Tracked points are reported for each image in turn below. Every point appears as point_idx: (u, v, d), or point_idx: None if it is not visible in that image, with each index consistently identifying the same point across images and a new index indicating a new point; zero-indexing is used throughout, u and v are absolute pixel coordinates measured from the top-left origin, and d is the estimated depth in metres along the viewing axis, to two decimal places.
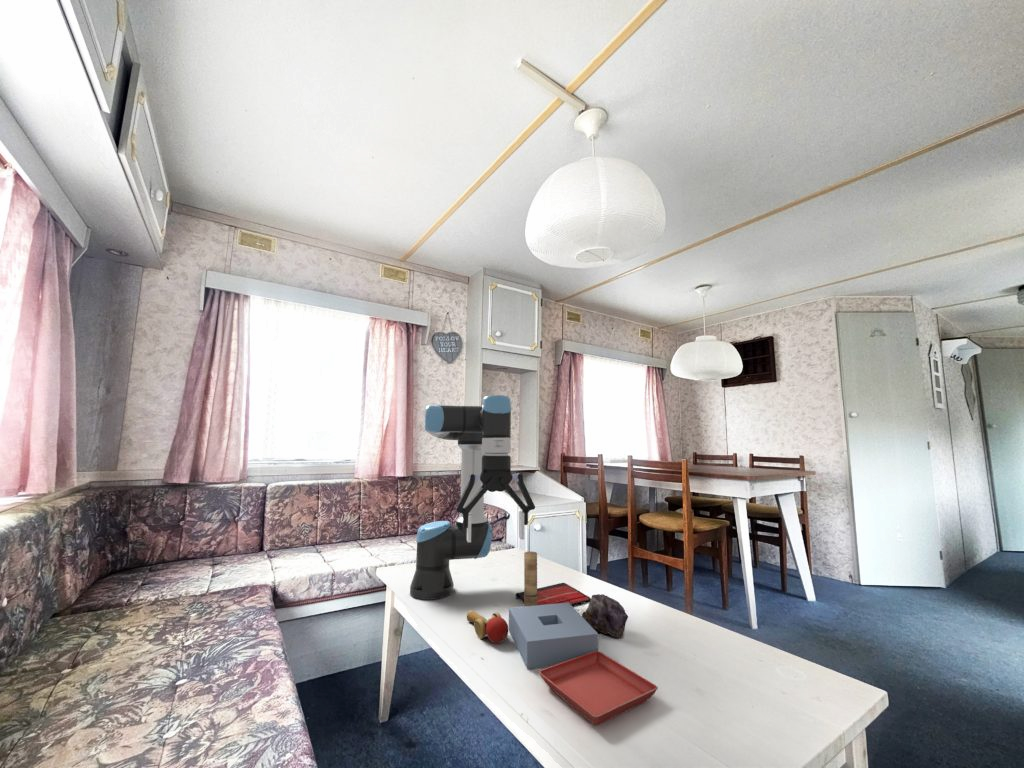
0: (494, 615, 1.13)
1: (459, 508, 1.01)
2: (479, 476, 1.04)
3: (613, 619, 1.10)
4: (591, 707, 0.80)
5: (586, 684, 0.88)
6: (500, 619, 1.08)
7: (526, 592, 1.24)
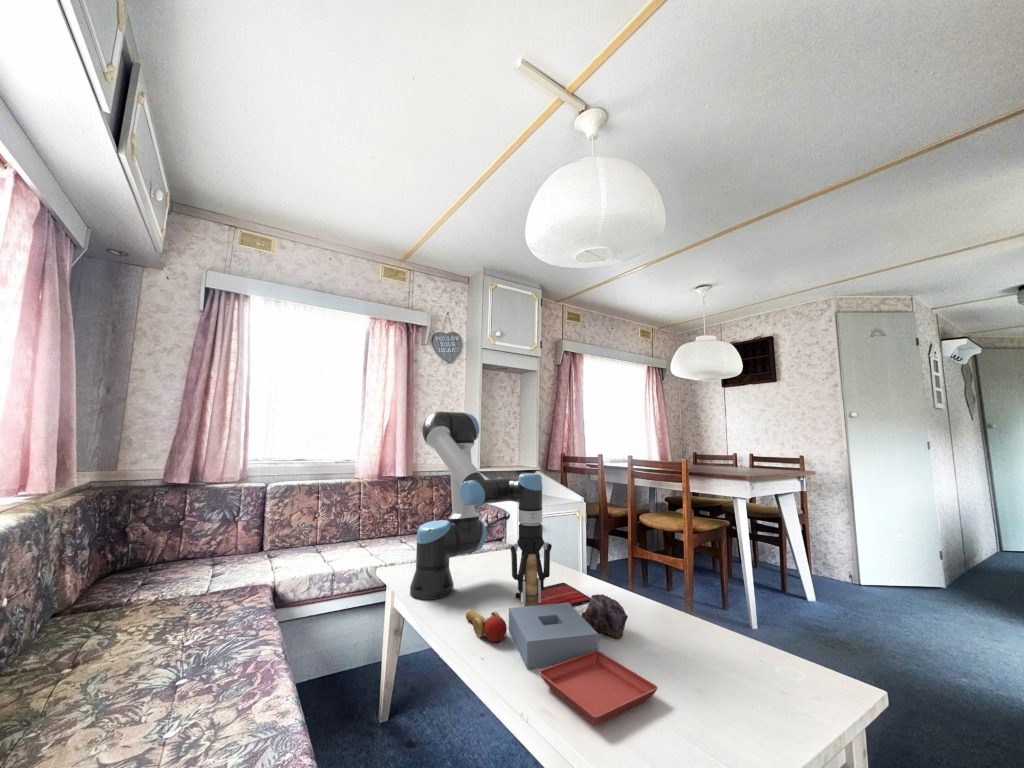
0: (493, 614, 1.14)
1: (515, 576, 1.24)
2: (517, 544, 1.26)
3: (613, 619, 1.10)
4: (591, 707, 0.80)
5: (586, 684, 0.88)
6: (498, 618, 1.09)
7: (526, 592, 1.24)
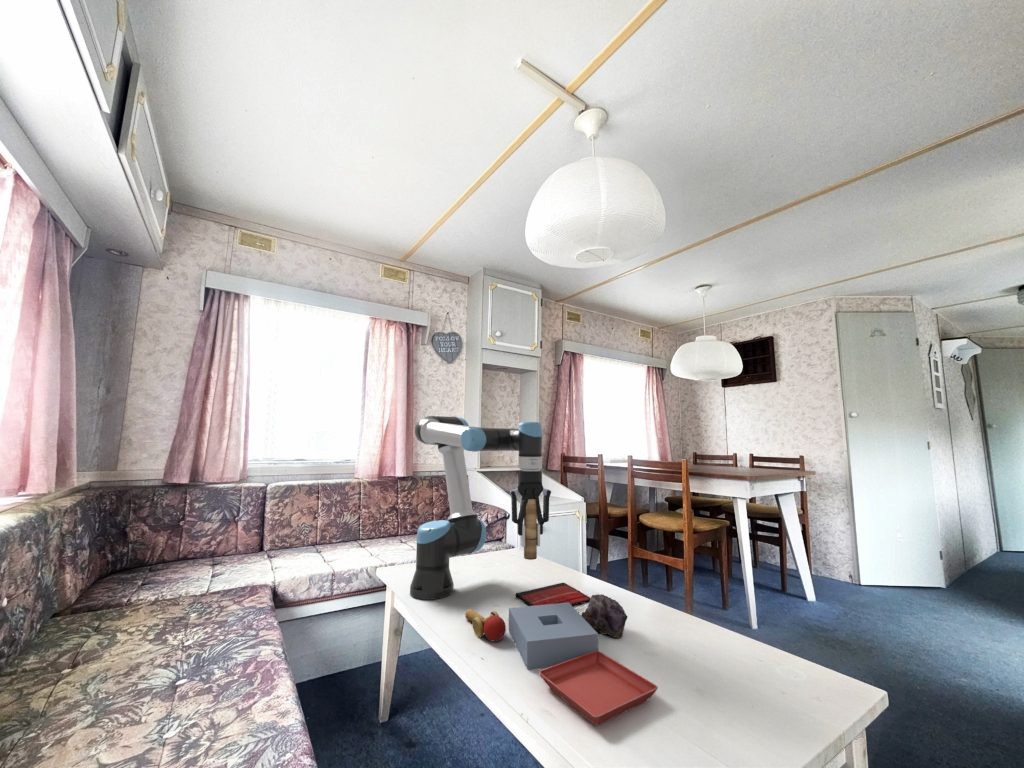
0: (492, 614, 1.14)
1: (515, 520, 1.26)
2: (517, 489, 1.29)
3: (613, 619, 1.10)
4: (591, 707, 0.80)
5: (586, 684, 0.88)
6: (497, 618, 1.09)
7: (526, 536, 1.27)
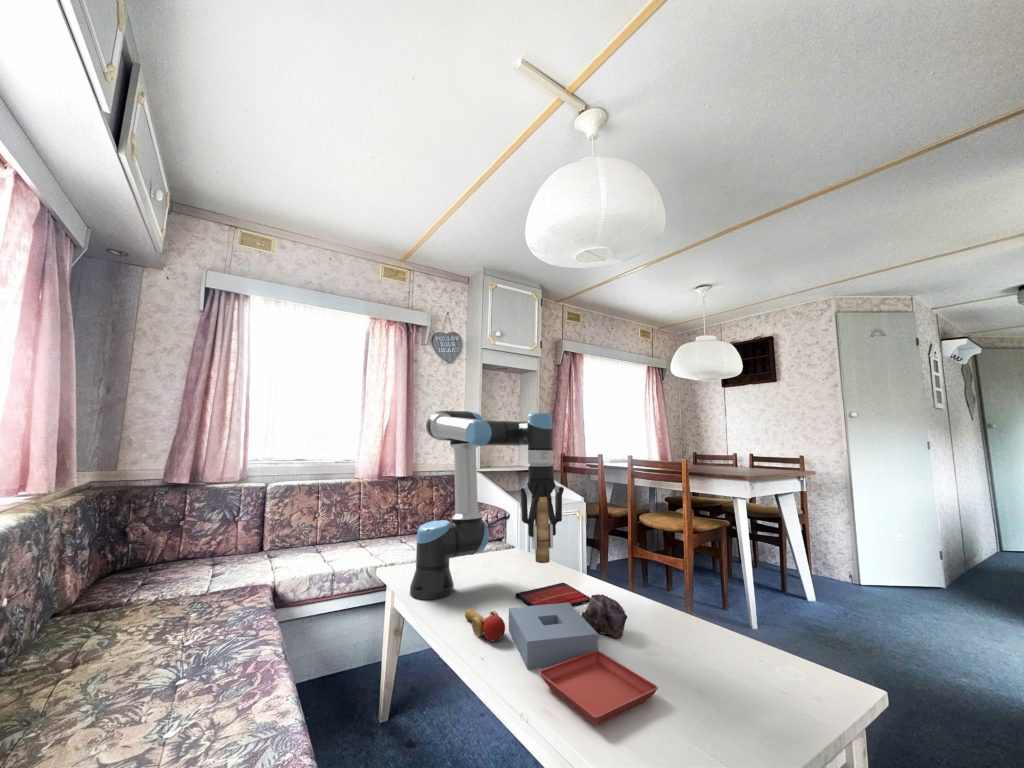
0: (491, 613, 1.14)
1: (525, 520, 1.16)
2: (527, 487, 1.18)
3: (612, 619, 1.10)
4: (591, 707, 0.80)
5: (586, 684, 0.88)
6: (497, 617, 1.09)
7: (537, 537, 1.16)
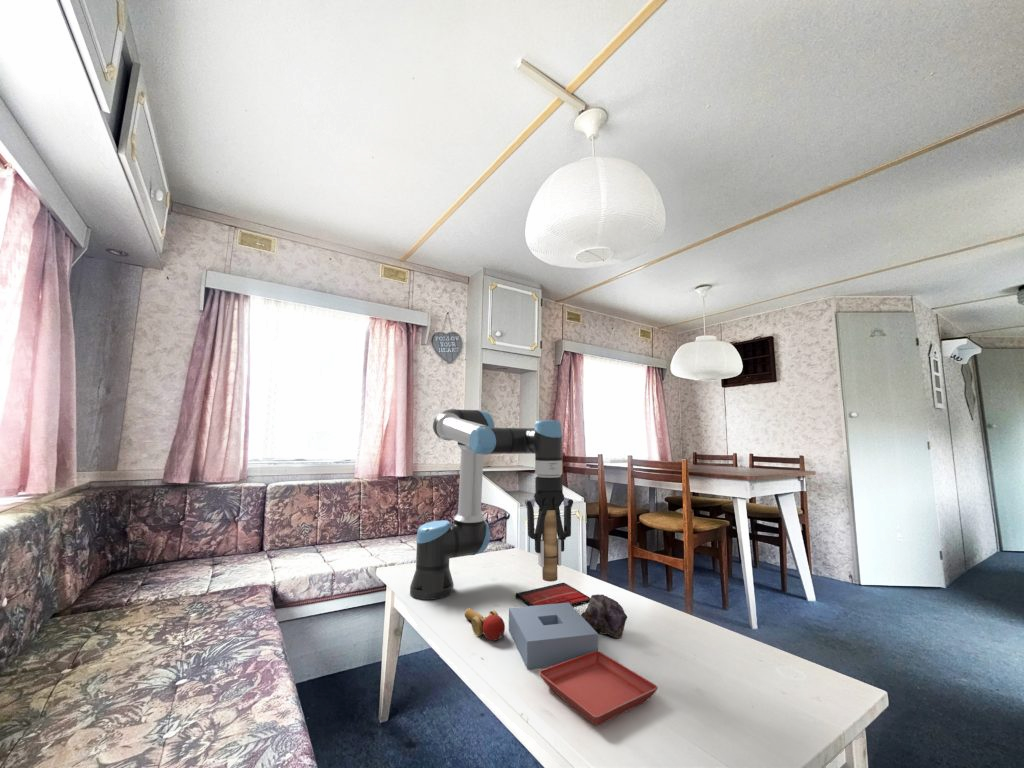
0: (491, 613, 1.14)
1: (532, 535, 1.08)
2: (534, 499, 1.10)
3: (612, 619, 1.10)
4: (591, 707, 0.80)
5: (586, 684, 0.88)
6: (496, 617, 1.10)
7: (544, 553, 1.08)
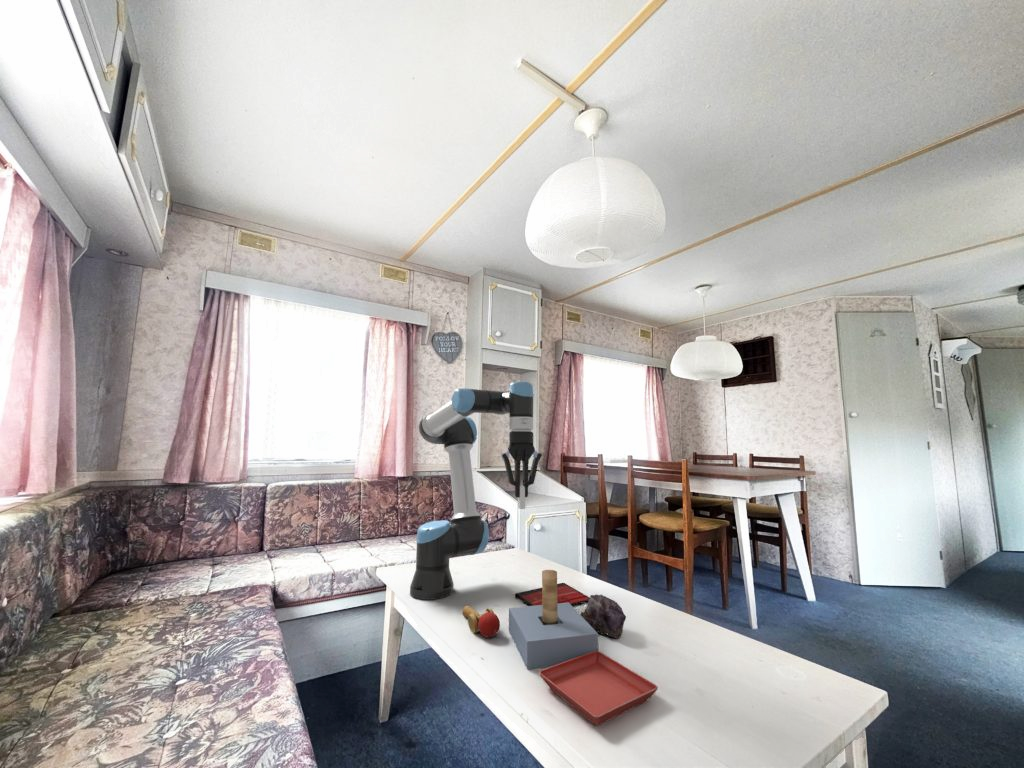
0: (487, 611, 1.16)
1: (512, 481, 1.24)
2: (508, 451, 1.25)
3: (611, 620, 1.10)
4: (592, 707, 0.80)
5: (586, 684, 0.88)
6: (492, 614, 1.11)
7: (545, 618, 1.06)
